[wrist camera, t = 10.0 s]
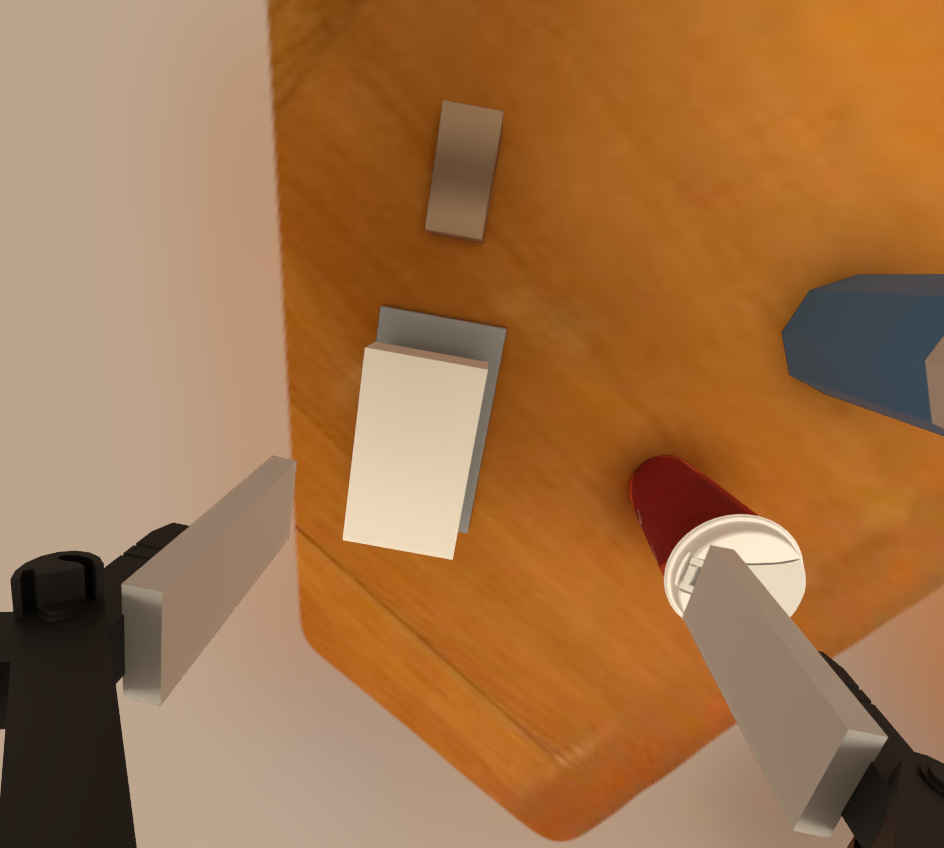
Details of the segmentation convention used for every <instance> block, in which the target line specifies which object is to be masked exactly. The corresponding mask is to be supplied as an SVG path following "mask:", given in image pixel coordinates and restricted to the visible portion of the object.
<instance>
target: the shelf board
mask: <svg viewBox="0 0 944 848" xmlns="http://www.w3.org/2000/svg"><path fill="white" fill-rule="evenodd" d="M488 364H489V362H484V361H479V360H473V359H468V358H462V357H457V356H451V355H446V354H441V353H435V352H430V351H424V350H419V349H413V348H408V347H402V346H397V345H391V344H386V343H380V342H374V343H372V344H370V345H369V346H367V347H365V353H364V361H363V370H362V378H361V387H360V396H359V404H358V413H357V421H356V430H355V439H354V447H353V456H352V464H351V473H350V482H349V490H348V499H347V507H346V516H345V525H344V533H343V540H346V541H351V542H357V543H362V544H368V545H373V546H379V547H385V548H390V549H396V550H401V551H407V552H412V553H418V554H423V555H429V556H435V557H440V558H446V559H451V560H453V555H454V549H455V544H456V538H457V533H458V528H459V522H460V517H461V512H462V506H463V501H464V496H465V490H466V485H467V480H468V474H469V469H470V463H471V458H472V453H473V447H474V442H475V437H476V431H477V426H478V421H479V415H480V410H481V404H482V399H483V394H484V388H485V383H486V378H487V372H488Z"/></svg>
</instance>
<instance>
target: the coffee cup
mask: <svg viewBox="0 0 944 848" xmlns="http://www.w3.org/2000/svg"><path fill="white" fill-rule="evenodd" d="M629 497H630V500H631V503H632V506H633V509H634V511H635V513H636V516H637V518H638V520H639V523H640V525H641V527H642V529H643V532H644V534H645V536H646V538H647V541H648V543H649V545H650V547H651V550H652V552H653V554H654V556H655V559H656V561H657V563H658V565H659V567H660V570H661V572H662V574H663V576H664V587H665V592H666V596H667V598H668V600H669V602H670V604H671V606H672V607H673V609H674V610H675V612H676V613H677V614H678V615H679V616H680V617H681V618H682V617H683V614H684V611H685V609H686V606H687V604H688V601H689V599H690V596H691V593H692V591H693V588H694V586H695V583H696V581H697V578H698V575H699V573H700V570H701V568H702V565H703V563H704V560H705V557H706V555H707V552H708V550H709V547H710V545H714V546H719V547H724V548H729V549H734V550H735V551H736V552H737V554H738V555H739V556H740V557H741V558H742V560H743V561H744V562H745V563H746V564H747V566H748V567H749V568H750V569H751V571H752V572H753V573H754V574H755V575H756V577H757V578H758V579H759V580H760V582H761V583H762V584H763V585H764V586H765V588H766V589H767V590H768V591H769V592H770V594H771V595H772V596H773V597H774V599H775V600H776V601H777V602H778V603H779V605H780V606H781V607H782V608H783V610H784V611H785V612H786V613H787V614H788V616H789V617H791V616H792V614H793V613H794V612H795V611H796V609H797V607H798V606H799V604H800V602H801V599H802V597H803V595H804V592H805V586H806V578H805V570H804V566H803V559H802V554H801V552H800V549H799V546H798V545H797V543H796V541H795V540H794V538H793V537H792V536H791V535H790V534H789V532H788V531H787V530H785V529H784V528H783V527H781V526H780V525H779V524H777V523H775V522H773V521H771V520H769V519H766V518H763V517H760V516H758V515H757V514H755V513H754V512H753V511H752V510H750V509H749V508H748V507H746V506H745V505H744V504H742V503H741V502H740V501H739V500H737V499H736V498H735V497H733V496H732V495H731V494H729V493H728V492H727V491H726V490H724V489H723V488H722V487H720V486H719V485H718V484H716V483H715V482H714V481H712V480H711V479H710V478H708V477H707V476H706V475H704V474H703V473H702V472H700V471H699V470H698V469H696V468H695V467H693V466H692V465H691V464H689V463H688V462H686V461H684V460H682V459H680V458H677V457H674V456H658V457H654V458H652V459H649V460H647V461H646V462H644V463H643V464H641V465H640V466H639V467H638V468H637V469H636V470H635V472H634V473H633V475H632V477H631V479H630V483H629ZM682 619H683V618H682Z"/></svg>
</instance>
